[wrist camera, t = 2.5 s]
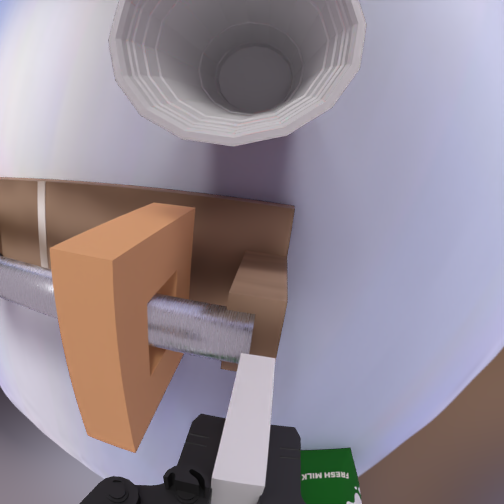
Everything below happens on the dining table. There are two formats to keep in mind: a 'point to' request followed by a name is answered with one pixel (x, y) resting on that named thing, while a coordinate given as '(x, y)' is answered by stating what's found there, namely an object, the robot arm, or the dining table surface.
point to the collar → (120, 315)
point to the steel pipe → (158, 310)
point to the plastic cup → (235, 63)
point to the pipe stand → (203, 248)
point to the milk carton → (329, 477)
